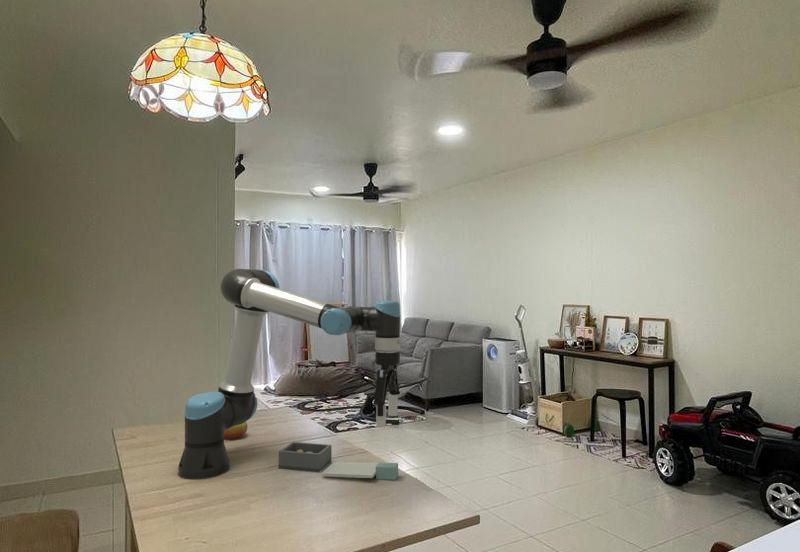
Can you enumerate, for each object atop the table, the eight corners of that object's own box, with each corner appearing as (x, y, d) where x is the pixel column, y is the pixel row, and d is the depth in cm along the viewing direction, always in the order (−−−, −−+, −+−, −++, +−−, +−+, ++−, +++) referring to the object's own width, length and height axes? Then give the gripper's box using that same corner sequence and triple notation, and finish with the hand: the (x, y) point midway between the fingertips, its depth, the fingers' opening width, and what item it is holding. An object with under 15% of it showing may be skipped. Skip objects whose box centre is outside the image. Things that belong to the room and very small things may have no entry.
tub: (278, 468, 158) (278, 451, 158) (292, 458, 168) (292, 441, 168) (319, 472, 155) (319, 454, 155) (331, 461, 164) (331, 444, 165)
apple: (236, 432, 198) (237, 412, 198) (252, 436, 193) (252, 416, 193) (215, 438, 190) (215, 417, 191) (230, 443, 185) (230, 421, 185)
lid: (322, 481, 150) (321, 469, 150) (334, 468, 160) (334, 457, 160) (392, 483, 145) (392, 471, 145) (401, 471, 155) (400, 459, 155)
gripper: (388, 356, 139) (388, 433, 138) (408, 347, 163) (408, 412, 163) (363, 355, 141) (362, 431, 140) (386, 346, 165) (386, 410, 164)
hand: (387, 421), depth 151 cm, fingers open, 13 cm apart
